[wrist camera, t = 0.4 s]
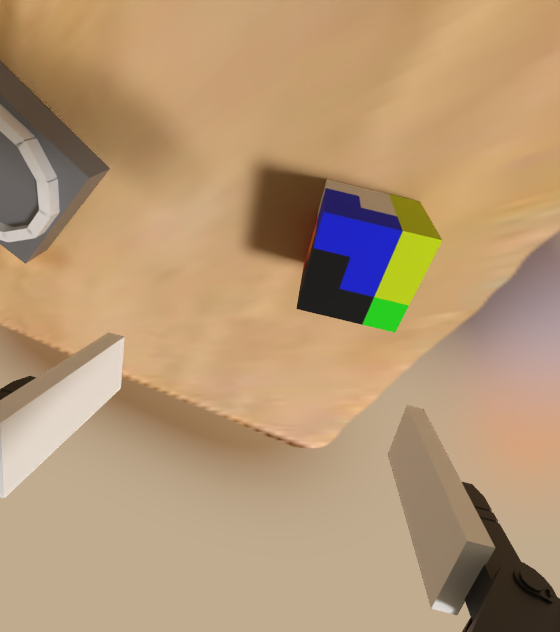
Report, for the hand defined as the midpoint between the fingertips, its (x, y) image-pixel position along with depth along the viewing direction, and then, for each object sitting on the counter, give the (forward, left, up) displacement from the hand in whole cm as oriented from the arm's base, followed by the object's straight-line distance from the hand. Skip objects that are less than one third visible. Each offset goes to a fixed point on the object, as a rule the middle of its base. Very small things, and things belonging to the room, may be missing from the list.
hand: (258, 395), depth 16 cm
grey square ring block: (+23, -24, -28) cm, 43 cm away
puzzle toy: (-2, +7, -28) cm, 29 cm away
